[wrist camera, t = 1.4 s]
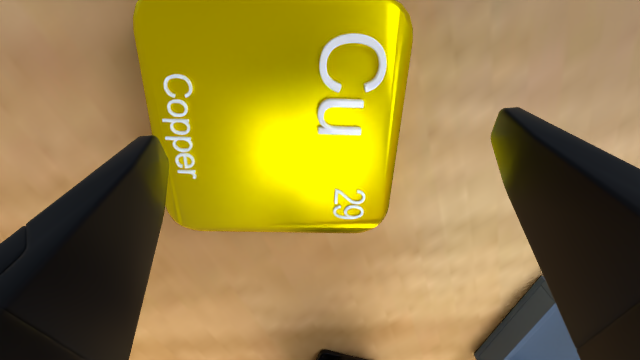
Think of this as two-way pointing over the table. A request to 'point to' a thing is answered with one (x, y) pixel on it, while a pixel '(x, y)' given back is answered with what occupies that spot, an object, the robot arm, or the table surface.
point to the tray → (531, 331)
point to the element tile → (276, 109)
